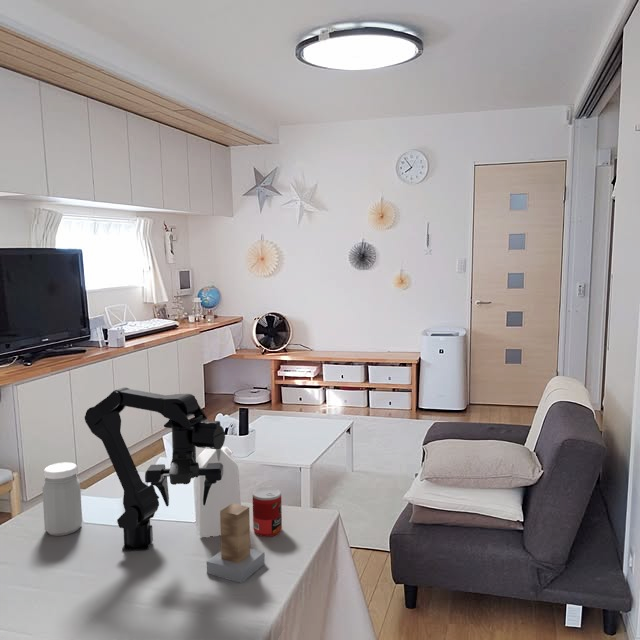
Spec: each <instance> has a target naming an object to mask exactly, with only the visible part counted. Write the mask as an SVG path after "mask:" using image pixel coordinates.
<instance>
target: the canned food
mask: <svg viewBox="0 0 640 640" xmlns="http://www.w3.org/2000/svg"><path fill="white" fill-rule="evenodd" d="M282 513H283V512H282V491H281V490H280V489H278V488H274V487H261V488H257V489H254V490H253V492H252V525H253V526H252V527H253V528H252V529H253V532H254V534H255V535H257V536H260V537H267V538H269V537H273V536H277V535H279V534H280V533H281V531H282V529H283V525H282V524H283V521H282V519H283V517H282Z"/></svg>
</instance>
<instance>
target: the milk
mask: <svg viewBox="0 0 640 640" xmlns="http://www.w3.org/2000/svg"><path fill="white" fill-rule="evenodd" d="M196 462H198V464H199V468H206V466H207V464H208V463H221V464H222V465H223V476H222V479H221V480H219V481H217V482H216V483H215V484H212V485H211V487H210V490H209V493H208V496H207V500H206V503H205V505H203V495H204V482H205V479H206V478H205V476H198V477H195V507H196V521H195V525H196V527H197V532H199V533H198V536H200V537H199V539H203V538H202V537H206V538H211V537H210V536H213V537H220V536H221V526H220V511H221V510H223V509H224V508H226V507H227V506H229V505H231V504H237V505H241V486H240V474H239V473H240V471H239V464H238V462H237V460H236V459H235V456H234V455H233V452H232V450H231V449H230V448H229V447H228V446H227V445H226V446H224V445H223V446H222V448H221V449H219V450H216V449H208V448H203V450H202V451H201V452H200V453H199V454H198V456H196ZM219 535H220V536H219Z"/></svg>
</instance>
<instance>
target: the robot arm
mask: <svg viewBox="0 0 640 640" xmlns="http://www.w3.org/2000/svg"><path fill="white" fill-rule="evenodd" d="M126 407H128V408H134V409H139V410H145V411H151V412H155V413H158V414H160V415H161V416H162V417H164V418H166V419H168V421H167V422H166V423H164V424H163V428H166V429H171V440H172V441H171V444H172V445H171V446H172V448H171V449H172V456H171V457H172V458H171V461H170V467H169V468H166V465H165V464H164V463H163V464H160V463H159V464H150V466H148V468H147V470H146V471H145V474H144V480H145V481H143V480H142V478H141V475H140V474H139V472H138V470H137V467H136V465H135V462H134V460H133V458H132V455H131V453H130V451H129V449H128V446H127V445H126V442H125V440H124V437H123V435H122V433H121V427H122V417H121V412H122V411H124V409H125V408H126ZM190 417H192V418H190ZM84 420H85V421H84V422H85V424H86V425H87V427H88V428H89V430H90V432H91V433H92V434H93V435H94V436H95V437H96V438H98V439H99V440H101V442H102V443H103V446H104V448H105V450H106V453H107V455H108V457H109V460H110V462H111V465H112V467H113V469H114V471H115V473H116V475H117V477H118V480H119V483H120V484H121V487H122V490H123V498H122V505H123V508H124V512H123V513H122V514H121V515H120V517H118V518H117V519H116V523H117V525H118V528H120V529H123V546H122V548H121V549H122V551H124V552H125V551H146V550H148V549H149V547H150V545H152V542H153V539H154V535H153V534H154V533H153V524H151V519H152V518H154V517H155V513H156V512H157V511H158V509H159V506H160V501H159V499H160V496H159V495H158V494H157V492H156V489H155V487H156V488H157V489H158V491H159V493H160V494H161V497H162V499H163V502H164V504H165V507H169V505H170V497H169V496H170V495H169V486H168V485H169V484H168V483H169V482H170V484H171V485H175V486H176V485H189V484H190V483H191V481H192V479H194V478H196V477H198V476H205V478H206V479H205V482H204V495H203V505H205V503H206V500H207V496H208V493H209V490H210V487H211V485H212V484H215V483H216V482H217V481H219V480H221V479H222V476H223V465H222V464H221V463H208V464H207V466H206V468H199V464H198V462H196V459H197V448H198V449H199V448H201V449H205V448H208V449H216V450H219V449H221V448H222V446H223V447H224V444H225V440H226V432H225V429H224V427H223V426H221V421H220V420H208V417H207V414H206V413H205V412H204V410H203V409H202V408H201V406H200V405H199V402H198V400H197V398H196V397H195V395H193V394H192V393H177V394H166V395H165V394H160V393H153V392H148V391H142V390H138V389H137V390H136V389H130V388H128V387H121V388H118V389H115V390H113V391H112V392H110V393H109V395H107V396H106V397H105V398H104V399H103V400H100V401H99V402H98V403H97V404H96V405H95V406H92V407H91V406H90V407H89V408H87V410H86V412H85V415H84ZM168 477H169V482H168ZM145 483H150V485H147V484H145Z"/></svg>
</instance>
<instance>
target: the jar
mask: <svg viewBox="0 0 640 640" xmlns="http://www.w3.org/2000/svg"><path fill="white" fill-rule="evenodd" d="M43 472H44V473H43V474H44V477H45V478H44V483H43V485H42V487H41V489H42V490H41V491H42V504H43V508H42V509H43V521H44V522H43V523H44V531H46V532H47V533H48V534H49V535H50V536H57V537H59V536H67V535H71V534H73V533H75V532H76V531H78V530H79V529H80V528H81V526H82V525H83V513H82V511H83V510H82V509H83V508H82V493H81V479H79V478H78V464H76V463H74V462H68V461H65V462H56V463H52V464H50V465H47V466H46V467H44V469H43Z"/></svg>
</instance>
